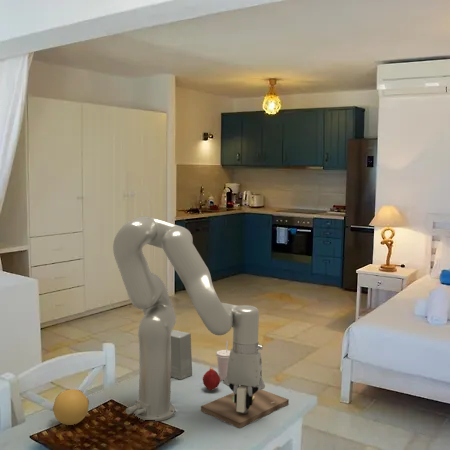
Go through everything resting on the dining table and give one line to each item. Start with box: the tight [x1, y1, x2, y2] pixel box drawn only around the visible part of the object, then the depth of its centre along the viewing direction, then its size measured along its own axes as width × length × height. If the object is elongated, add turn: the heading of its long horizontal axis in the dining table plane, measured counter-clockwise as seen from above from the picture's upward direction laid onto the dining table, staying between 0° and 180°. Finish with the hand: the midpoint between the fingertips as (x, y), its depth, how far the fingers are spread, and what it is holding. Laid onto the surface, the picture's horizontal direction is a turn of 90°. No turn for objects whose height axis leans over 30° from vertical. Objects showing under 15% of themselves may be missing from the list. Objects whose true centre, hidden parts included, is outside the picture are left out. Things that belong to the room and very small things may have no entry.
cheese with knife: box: [236, 385, 255, 414], centre depth 169 cm, size 14×3×8 cm, turn 160°
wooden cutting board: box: [200, 389, 290, 429], centre depth 173 cm, size 24×16×2 cm, turn 138°
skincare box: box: [171, 329, 193, 380], centre depth 198 cm, size 8×7×16 cm
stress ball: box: [52, 388, 90, 426], centre depth 158 cm, size 10×10×10 cm
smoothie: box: [215, 340, 231, 381], centre depth 196 cm, size 6×6×14 cm
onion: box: [202, 367, 221, 391], centre depth 186 cm, size 6×6×8 cm
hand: (243, 405), depth 166 cm, fingers closed on cheese with knife, 2 cm apart
